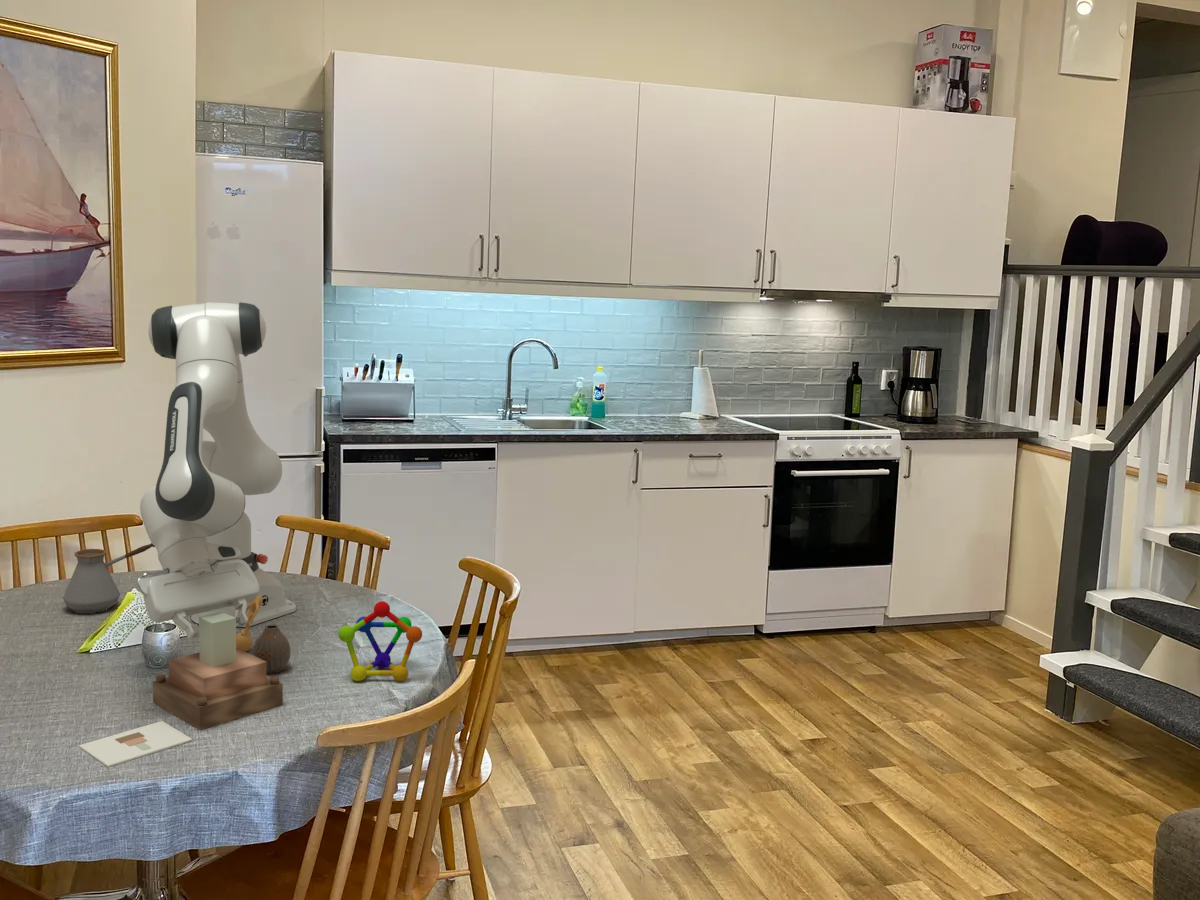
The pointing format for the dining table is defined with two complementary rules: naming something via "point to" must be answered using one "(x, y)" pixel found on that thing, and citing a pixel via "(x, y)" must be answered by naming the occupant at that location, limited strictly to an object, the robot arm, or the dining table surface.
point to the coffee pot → (94, 581)
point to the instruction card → (135, 743)
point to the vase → (272, 649)
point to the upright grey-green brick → (217, 639)
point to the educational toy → (382, 657)
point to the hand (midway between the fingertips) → (219, 630)
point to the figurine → (248, 625)
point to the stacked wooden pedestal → (216, 689)
